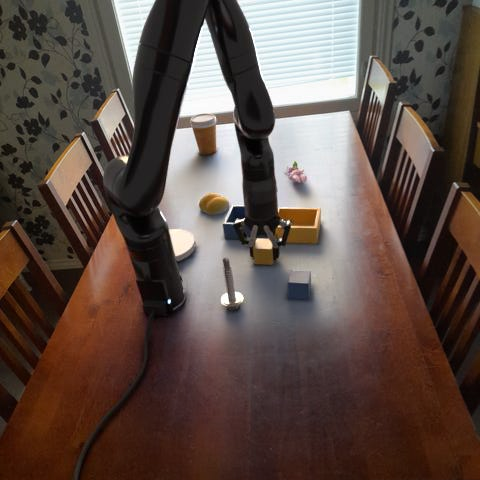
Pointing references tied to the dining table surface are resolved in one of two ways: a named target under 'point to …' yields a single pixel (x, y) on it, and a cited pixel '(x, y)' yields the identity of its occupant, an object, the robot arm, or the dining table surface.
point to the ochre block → (263, 252)
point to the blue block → (299, 284)
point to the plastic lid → (182, 243)
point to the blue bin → (229, 221)
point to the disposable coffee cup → (205, 132)
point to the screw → (230, 288)
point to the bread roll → (214, 204)
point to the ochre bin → (300, 224)
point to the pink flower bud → (296, 173)
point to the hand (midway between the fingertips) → (265, 258)
